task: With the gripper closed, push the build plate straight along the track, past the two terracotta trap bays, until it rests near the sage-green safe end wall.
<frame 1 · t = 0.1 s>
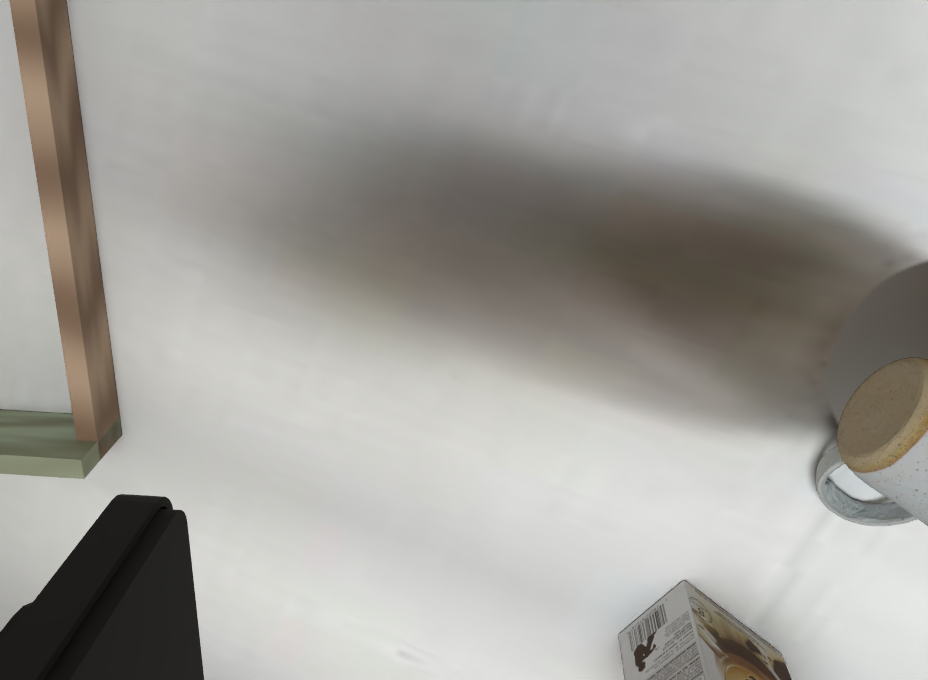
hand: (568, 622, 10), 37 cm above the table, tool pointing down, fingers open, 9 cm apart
coffee box: (698, 641, 56), on the table
ceramic mug: (895, 433, 50), on the table
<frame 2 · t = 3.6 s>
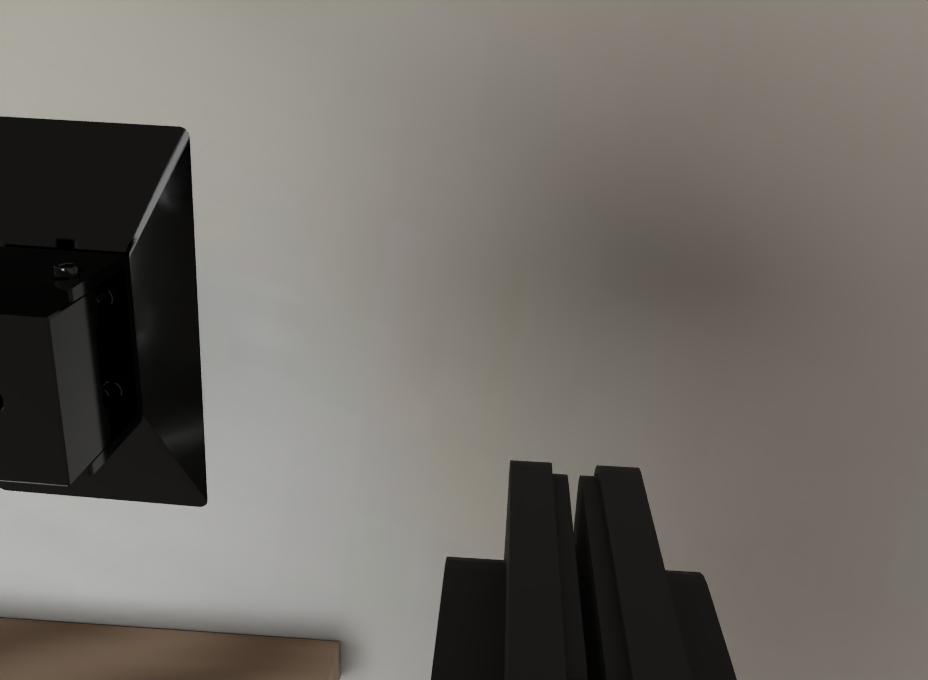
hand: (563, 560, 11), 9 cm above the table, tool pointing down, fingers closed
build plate: (97, 318, 21), on the table
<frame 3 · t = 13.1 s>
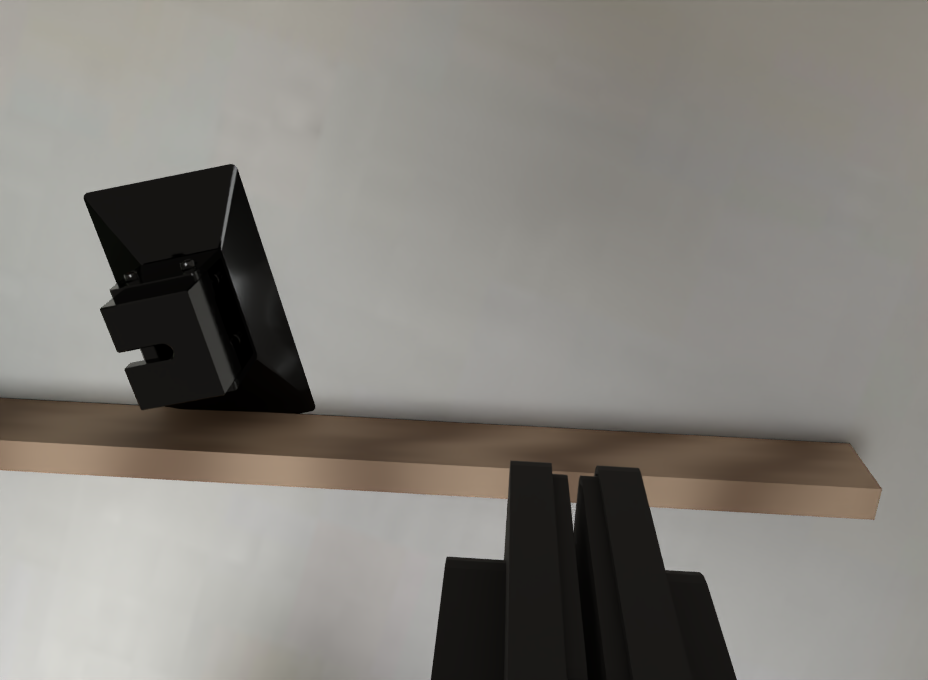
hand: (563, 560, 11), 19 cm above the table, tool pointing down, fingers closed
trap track: (411, 192, 29), on the table
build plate: (211, 300, 32), on the table
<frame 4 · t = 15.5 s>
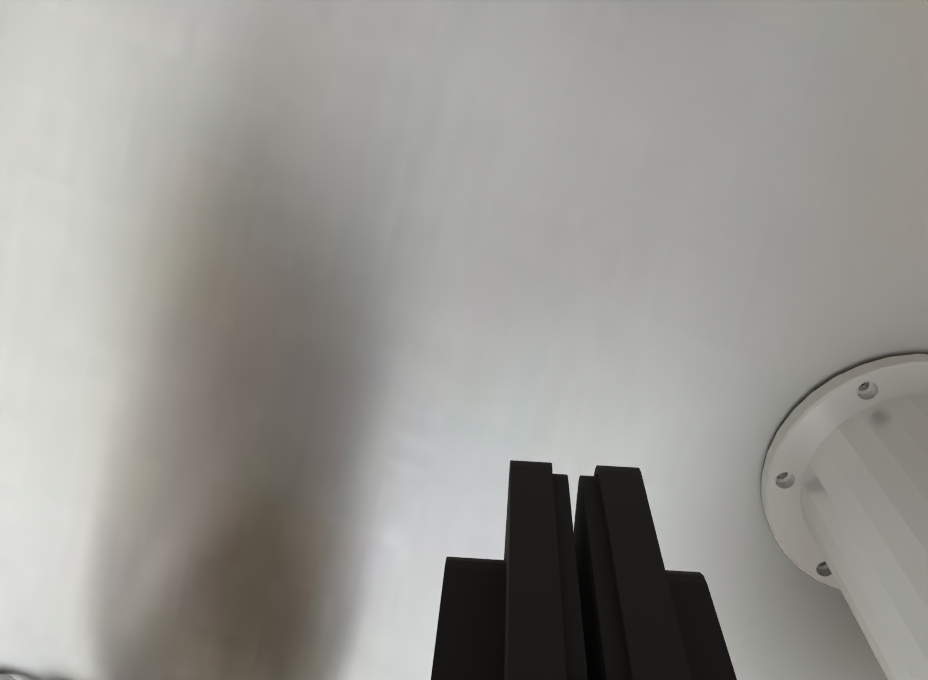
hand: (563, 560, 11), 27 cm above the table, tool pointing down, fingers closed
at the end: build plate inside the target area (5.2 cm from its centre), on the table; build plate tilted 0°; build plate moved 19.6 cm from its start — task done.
